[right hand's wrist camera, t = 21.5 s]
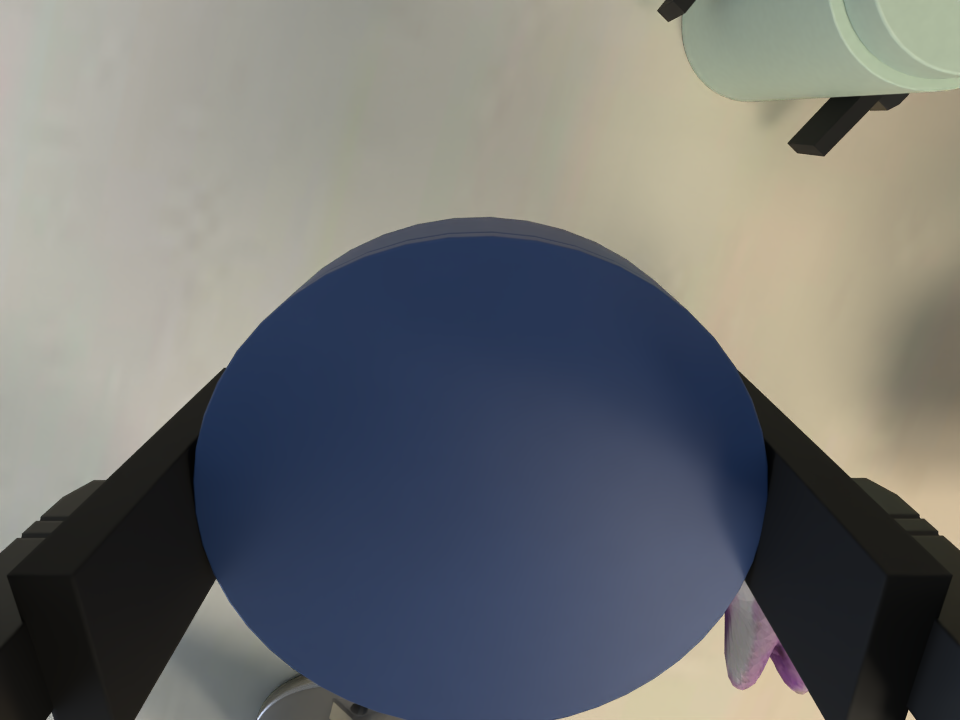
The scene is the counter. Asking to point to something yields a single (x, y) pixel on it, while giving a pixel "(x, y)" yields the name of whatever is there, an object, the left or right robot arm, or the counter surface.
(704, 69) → the jar
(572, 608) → the lid
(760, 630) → the figurine
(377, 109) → the counter surface
